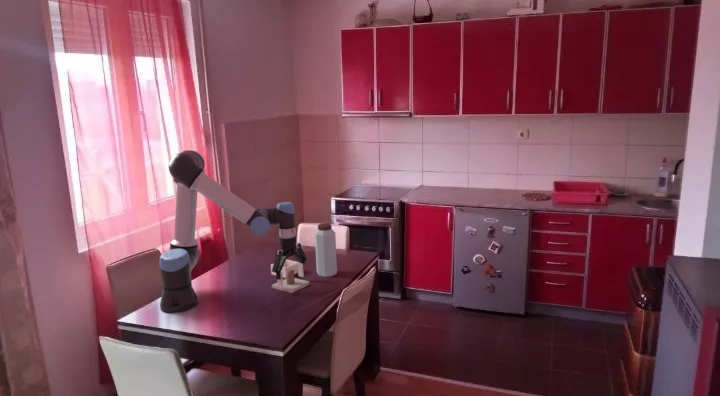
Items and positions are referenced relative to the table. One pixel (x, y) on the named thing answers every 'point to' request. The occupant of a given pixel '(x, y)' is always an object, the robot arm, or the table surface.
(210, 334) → the table surface
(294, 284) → the lid
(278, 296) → the table surface
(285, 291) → the plate
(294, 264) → the dish
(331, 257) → the water bottle
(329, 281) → the table surface
